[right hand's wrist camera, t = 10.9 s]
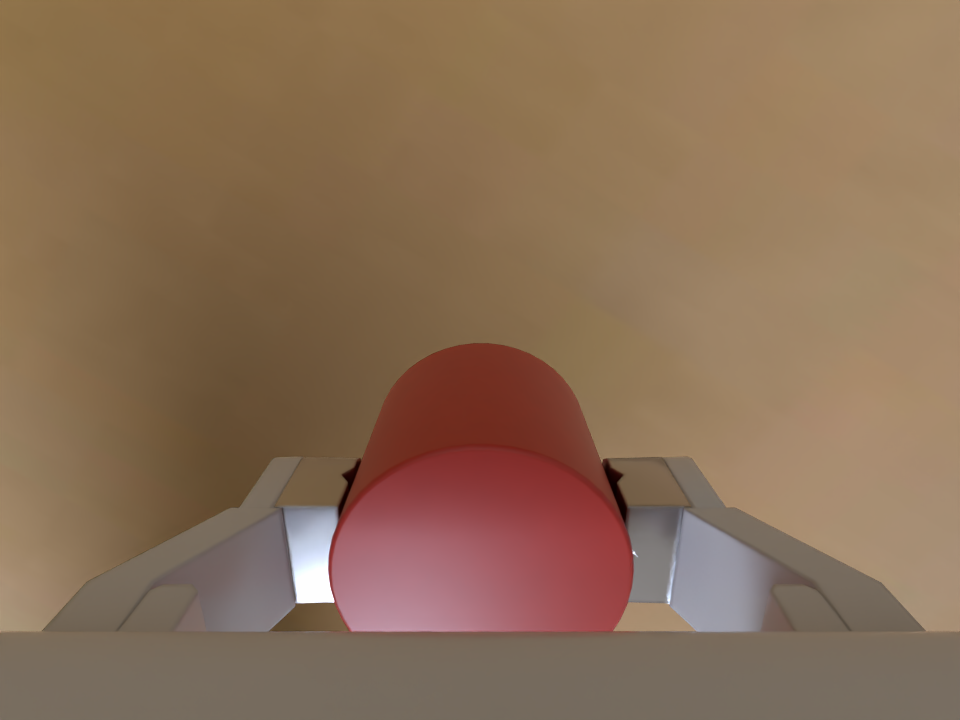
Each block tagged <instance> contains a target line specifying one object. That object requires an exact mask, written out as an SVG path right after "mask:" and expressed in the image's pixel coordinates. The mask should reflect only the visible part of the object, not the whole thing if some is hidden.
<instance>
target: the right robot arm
mask: <svg viewBox="0 0 960 720" xmlns="http://www.w3.org/2000/svg"><path fill="white" fill-rule="evenodd" d="M360 463H361V459H360V458H331V457H305V458H304V457H302V456H301V457H276V458H273V459H272V460H271V462H270V463H269V464H268V466H267V467H266V469H265V470H264V472H263V473H262V475H261V476H260V478H259V479H258V481H257V482H256V484H255V485H254V487H253V488H252V490H251V491H250V492H249V494H248V495H247V497H246V498H245V500H244V501H243V503H242V504H241V506H240V507H239V508H229V509H227V510H225V511H223V512H221V513H219V514H217V515H215V516H213V517H211V518H209V519H207V520H206V521H204V522H202V523H200V524H198V525H196V526H194V527H192V528H190V529H188V530H186V531H184V532H182V533H180V534H178V535H177V536H175V537H173V538H171V539H169V540H167V541H165V542H163V543H161V544H159V545H157V546H155V547H153V548H151V549H149V550H147V551H146V552H144V553H142V554H140V555H138V556H136V557H134V558H132V559H130V560H128V561H126V562H124V563H122V564H120V565H118V566H117V567H115V568H113V569H111V570H109V571H107V572H105V573H103V574H101V575H99V576H97V577H95V578H93V579H91V580H89V581H87V582H86V583H85V584H84V585H83V587H82V588H81V589H80V590H79V591H78V592H77V593H76V594H75V595H74V596H73V597H72V599H71V600H70V601H69V602H68V603H67V604H66V605H65V606H64V607H63V608H62V610H61V611H60V612H59V613H58V614H57V615H56V616H55V617H54V618H53V619H52V620H51V622H50V623H49V624H48V625H47V626H46V627H45V628H44V629H43V630H42V631H0V720H960V632H945V631H925V630H924V628H923V627H922V626H921V625H920V624H919V623H918V622H917V621H916V620H915V619H914V618H913V617H912V615H911V614H910V613H909V612H908V611H907V610H906V609H905V608H904V607H903V606H902V605H901V604H900V602H899V601H898V600H897V599H896V598H895V597H894V596H893V595H892V594H891V593H890V592H889V591H888V589H887V588H886V587H885V586H884V585H883V584H882V583H881V582H879V581H877V580H875V579H873V578H871V577H869V576H867V575H865V574H863V573H861V572H859V571H857V570H856V569H854V568H852V567H850V566H848V565H846V564H844V563H842V562H840V561H838V560H836V559H834V558H832V557H830V556H828V555H826V554H824V553H822V552H820V551H819V550H817V549H815V548H813V547H811V546H809V545H807V544H805V543H803V542H801V541H799V540H797V539H795V538H793V537H791V536H789V535H787V534H785V533H783V532H782V531H780V530H778V529H776V528H774V527H772V526H770V525H768V524H766V523H764V522H762V521H760V520H758V519H756V518H754V517H752V516H750V515H748V514H746V513H745V512H743V511H741V510H739V509H737V508H726V507H725V505H724V504H723V502H722V501H721V499H720V498H719V497H718V495H717V494H716V492H715V491H714V489H713V488H712V487H711V485H710V484H709V482H708V481H707V479H706V478H705V477H704V475H703V474H702V472H701V471H700V469H699V468H698V467H697V465H696V464H695V462H694V461H693V460H692V458H690V457H687V456H683V457H646V458H607V459H603V463H602V466H603V468H604V471H605V474H606V476H607V479H608V481H609V484H610V487H611V489H612V492H613V495H614V497H615V500H616V502H617V505H618V508H619V510H620V513H621V515H622V518H623V521H624V523H625V526H626V529H627V531H628V534H629V536H630V540H631V545H632V550H633V557H634V575H633V584H632V589H631V593H630V596H629V600H628V602H642V603H670V605H669V606H670V607H671V608H673V609H674V610H675V611H676V612H677V613H678V614H679V615H680V616H681V617H682V618H683V619H684V620H685V621H687V622H688V623H689V624H690V625H691V626H692V627H693V628H694V629H695V630H696V631H573V632H484V631H483V632H482V631H481V632H480V631H269V630H271V629H272V628H273V627H274V626H275V625H276V624H277V623H278V622H279V621H280V620H281V619H282V618H283V617H284V616H285V615H287V614H288V613H289V612H290V611H291V610H292V609H293V608H294V607H295V603H322V602H334V599H333V596H332V592H331V589H330V583H329V574H328V558H329V550H330V545H331V540H332V536H333V534H334V531H335V529H336V526H337V523H338V521H339V518H340V516H341V513H342V510H343V508H344V505H345V503H346V500H347V497H348V495H349V492H350V490H351V487H352V484H353V482H354V479H355V476H356V474H357V471H358V469H359V466H360Z"/></svg>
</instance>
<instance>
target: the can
mask: <svg viewBox="0 0 960 720" xmlns="http://www.w3.org/2000/svg"><path fill="white" fill-rule="evenodd" d="M328 574H329V583H330V589H331V592H332V596H333V599H334V603H335V605H336V608H337V610H338V612H339V614H340V616H341V619H342V620H343V622H344V623H345V625H346V626H347V628H348V630H349V631H480V632H481V631H482V632H483V631H484V632H573V631H613V630H614V628H615V627H616V625H617V624H618V622H619V621H620V619H621V617H622V615H623V613H624V610H625V608H626V606H627V603H628V600H629V596H630V593H631V589H632V584H633V575H634V557H633V550H632V545H631V540H630V536H629V534H628V531H627V529H626V526H625V523H624V521H623V518H622V515H621V513H620V510H619V508H618V505H617V502H616V500H615V497H614V495H613V492H612V489H611V487H610V484H609V481H608V479H607V476H606V474H605V471H604V468H603V466H602V463H601V460H600V458H599V455H598V453H597V450H596V447H595V445H594V442H593V439H592V437H591V434H590V432H589V429H588V426H587V424H586V421H585V418H584V416H583V413H582V411H581V408H580V406H579V403H578V400H577V398H576V397H575V395H574V393H573V391H572V390H571V388H570V387H569V385H568V384H567V383H566V382H565V380H564V379H563V378H562V377H561V376H560V375H559V374H558V373H557V372H556V371H555V370H554V369H553V368H551V367H550V366H549V365H547V364H546V363H545V362H543V361H542V360H540V359H538V358H536V357H535V356H533V355H531V354H529V353H526V352H524V351H521V350H519V349H516V348H512V347H508V346H504V345H497V344H489V343H473V344H465V345H458V346H454V347H450V348H446V349H443V350H441V351H438V352H436V353H433V354H431V355H429V356H428V357H426V358H424V359H422V360H420V361H419V362H418V363H416V364H415V365H414V366H412V367H411V368H409V369H408V370H407V371H406V372H405V373H404V374H403V375H402V376H401V377H400V378H399V379H398V381H397V382H396V383H395V384H394V386H393V387H392V388H391V390H390V392H389V394H388V395H387V397H386V399H385V401H384V404H383V406H382V409H381V411H380V414H379V417H378V419H377V422H376V424H375V427H374V430H373V432H372V435H371V437H370V440H369V443H368V445H367V448H366V450H365V453H364V456H363V458H362V461H361V463H360V466H359V469H358V471H357V474H356V476H355V479H354V482H353V484H352V487H351V490H350V492H349V495H348V497H347V500H346V503H345V505H344V508H343V510H342V513H341V516H340V518H339V521H338V523H337V526H336V529H335V531H334V534H333V536H332V540H331V545H330V550H329V558H328Z"/></svg>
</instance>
